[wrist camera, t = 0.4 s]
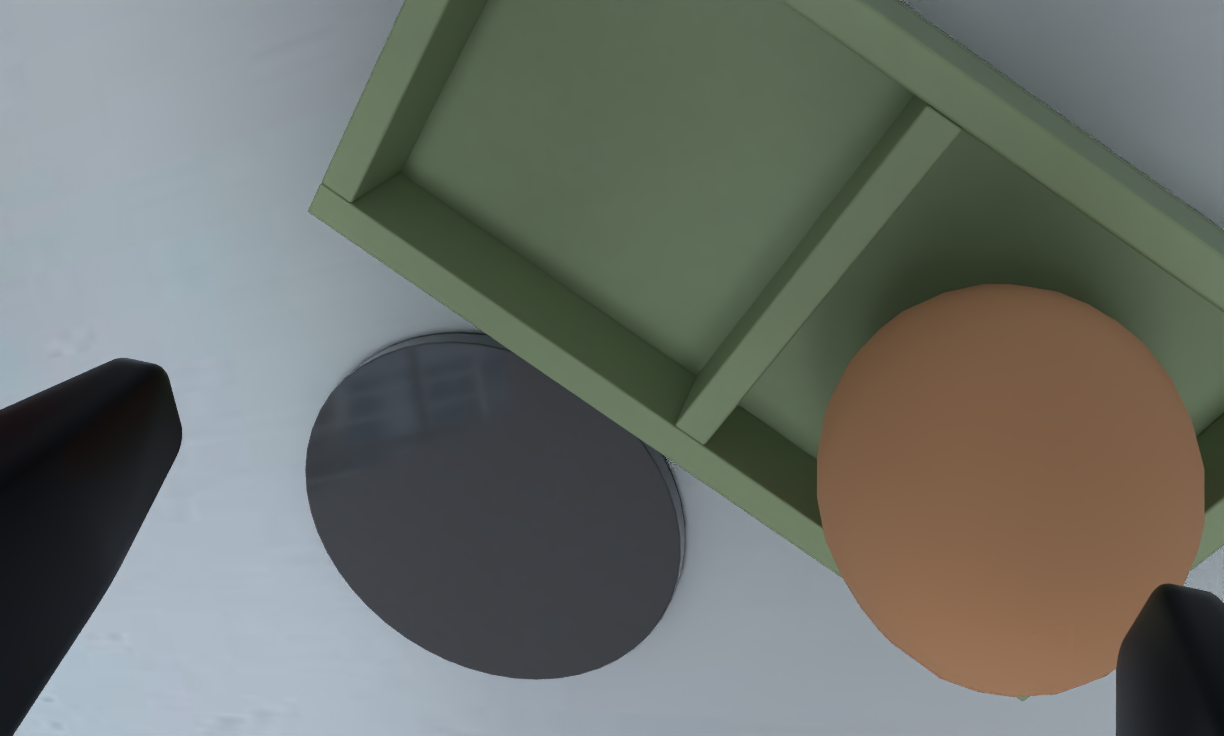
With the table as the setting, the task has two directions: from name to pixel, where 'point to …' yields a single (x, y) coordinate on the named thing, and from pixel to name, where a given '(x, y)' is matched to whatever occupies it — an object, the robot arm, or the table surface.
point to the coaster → (493, 510)
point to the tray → (748, 214)
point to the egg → (1008, 486)
